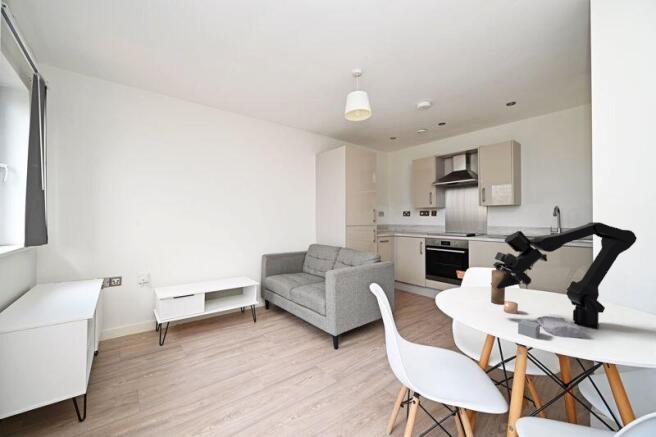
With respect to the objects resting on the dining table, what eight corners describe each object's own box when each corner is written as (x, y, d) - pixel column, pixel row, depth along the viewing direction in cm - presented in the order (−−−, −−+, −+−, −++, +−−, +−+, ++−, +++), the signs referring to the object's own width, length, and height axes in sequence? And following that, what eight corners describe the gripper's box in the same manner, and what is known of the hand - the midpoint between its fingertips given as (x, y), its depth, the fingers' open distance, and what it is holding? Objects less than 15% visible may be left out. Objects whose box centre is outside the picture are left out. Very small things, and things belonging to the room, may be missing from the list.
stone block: (553, 342, 91) (586, 339, 89) (550, 328, 91) (582, 324, 89) (533, 329, 103) (562, 326, 101) (530, 316, 103) (559, 313, 101)
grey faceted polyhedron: (539, 335, 92) (540, 323, 92) (535, 339, 89) (535, 327, 89) (522, 330, 96) (522, 319, 96) (517, 334, 93) (518, 322, 93)
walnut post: (506, 303, 106) (506, 271, 106) (502, 305, 103) (503, 272, 103) (493, 300, 110) (493, 269, 110) (489, 302, 107) (489, 270, 107)
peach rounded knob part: (519, 312, 114) (519, 303, 114) (515, 315, 111) (515, 305, 111) (505, 309, 118) (505, 300, 118) (501, 311, 115) (502, 302, 115)
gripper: (498, 243, 115) (470, 267, 117) (522, 248, 97) (489, 277, 99) (518, 262, 114) (489, 286, 116) (546, 270, 95) (512, 299, 97)
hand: (494, 286), depth 107 cm, fingers closed on walnut post, 5 cm apart
